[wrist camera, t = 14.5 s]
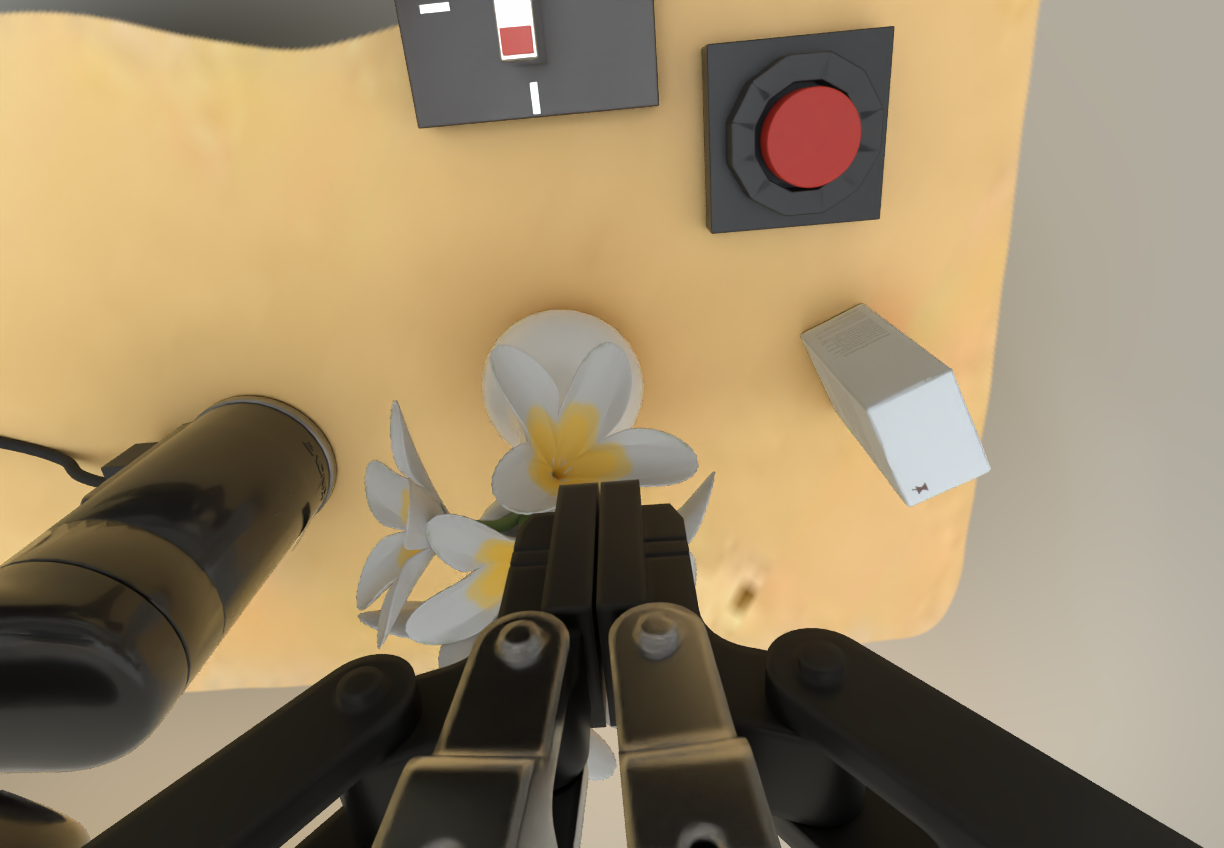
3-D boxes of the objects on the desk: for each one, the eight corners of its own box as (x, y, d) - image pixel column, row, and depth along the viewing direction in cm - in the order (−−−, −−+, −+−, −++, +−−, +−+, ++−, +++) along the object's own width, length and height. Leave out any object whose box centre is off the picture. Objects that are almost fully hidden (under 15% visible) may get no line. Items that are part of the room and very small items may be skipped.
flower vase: (497, 512, 47) (386, 893, 24) (441, 240, 39) (201, 423, 16) (686, 495, 46) (756, 870, 23) (667, 215, 38) (744, 371, 16)
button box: (706, 227, 39) (715, 239, 35) (701, 47, 35) (711, 40, 31) (866, 213, 38) (892, 224, 35) (878, 30, 35) (909, 21, 31)
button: (759, 188, 34) (766, 192, 33) (760, 91, 32) (767, 90, 31) (847, 180, 34) (858, 183, 33) (852, 82, 32) (865, 81, 31)
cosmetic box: (898, 381, 43) (995, 474, 32) (834, 411, 43) (907, 512, 33) (863, 297, 40) (955, 367, 29) (796, 331, 41) (862, 411, 30)
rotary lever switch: (432, 127, 37) (417, 128, 34) (391, -102, 32) (369, -122, 29) (655, 106, 36) (659, 105, 33) (643, -129, 32) (646, -152, 29)
